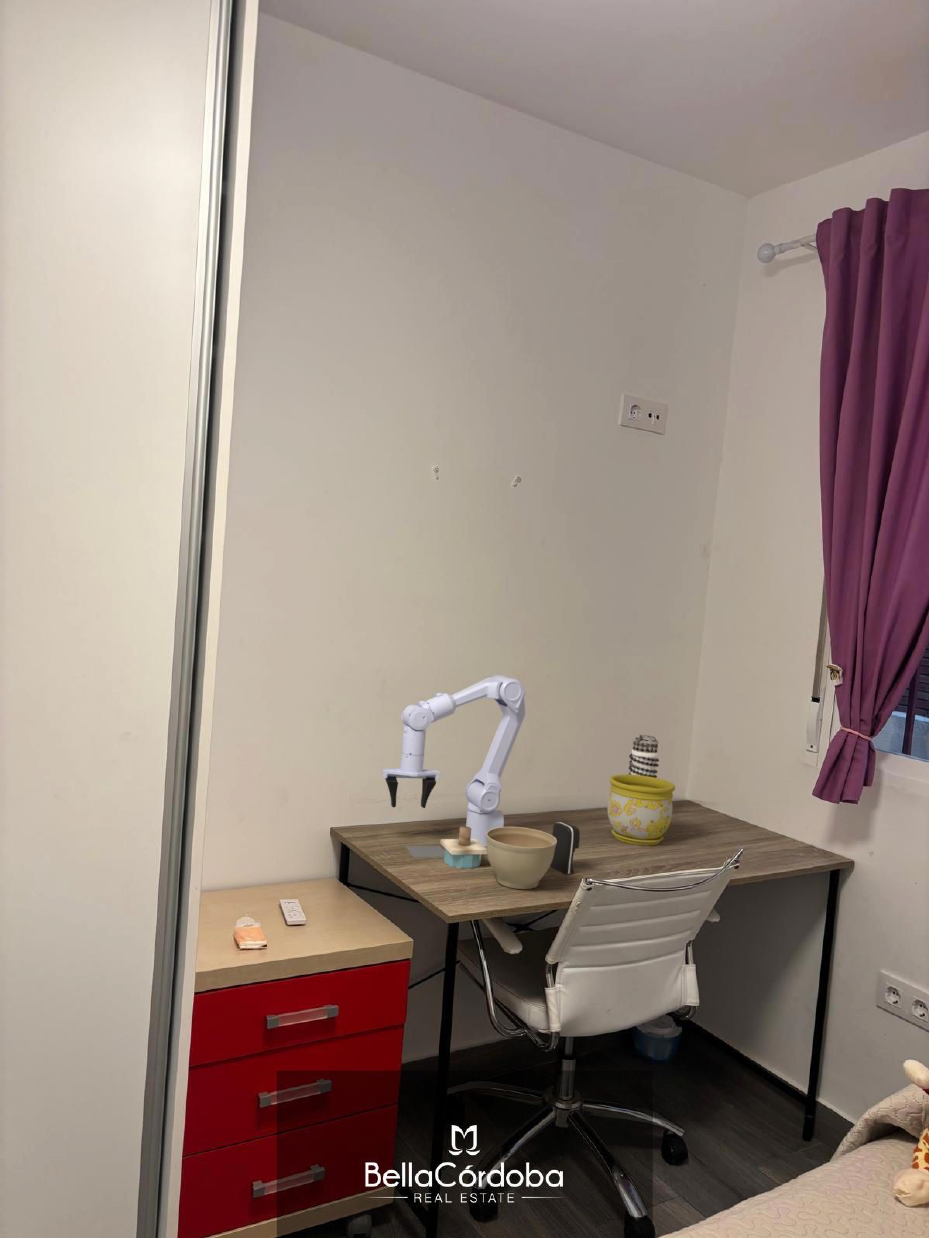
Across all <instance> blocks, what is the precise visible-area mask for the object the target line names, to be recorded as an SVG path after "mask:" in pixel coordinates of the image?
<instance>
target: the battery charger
mask: <svg viewBox="0 0 929 1238" xmlns="http://www.w3.org/2000/svg"><path fill="white" fill-rule="evenodd" d="M551 835H552V836H553V837H555V838H556V840H557V844H556V847H555V852H554V856H553V860H552V862H551V865H550V867H551V868H552V869H554V870H556V871H557V872H560V873H562V874H565V875H570V874H574V873H575V869H574V866H573V861H574V853H575V852H576V850H577V849H579V848H580V847H579V846H580V838H581V836H580V835H581V832H580V829H579V828H578V827H577V826H576V825H575V824H574V825H573V824H572V823H568V822H566V821H563V822H562V821H561V822H560V821H559V822H555V823H554V824H553V827H552V834H551ZM550 867H549V868H550Z"/></svg>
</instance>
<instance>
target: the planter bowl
mask: <svg viewBox="0 0 929 1238" xmlns="http://www.w3.org/2000/svg"><path fill="white" fill-rule="evenodd" d="M486 839H487V846H486V848H487V854H486V855H487V859H488V861H489V864H490V867H491V868H492V871H493V873H494V874H495V877H496V881H497V883H499V884H500V885H502V886H504V887H507V888H510V889H515V890H516V889H518V890H531V889H534V888H537V887H538V885H539V883H540V880H541V879H542V878H543V877H544V876H545V875H546V873H547V872H548V871H549V869H550V865H551V862H552V860H553V856H554V852H555V847H556V844H557V840H556V838H555V837H553V836H552V834H550V833H547V832H545V831H543V830H538V829H534V828H528V827H522V826H521V827H520V826H504V827H498V828H493V829H490V830H489V831H487V833H486Z"/></svg>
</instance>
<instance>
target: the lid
mask: <svg viewBox="0 0 929 1238" xmlns="http://www.w3.org/2000/svg"><path fill="white" fill-rule="evenodd" d="M439 842H440V846H441V847H442V846H443V848H444V849H445V848H446V849H447V850H448V851H449V852H450V853H451V854H452V855H461V854H481V855H487V847H486V846H483V845H482V844H481V843H480V842H478V841H477V840H476V839H471V828H470V827H466V825H465V826H459V834H458V838H453V839H452V838H451V839H450V838H448V839H447V838H445V839H444V838H442V839H440V841H439Z"/></svg>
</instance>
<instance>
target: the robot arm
mask: <svg viewBox="0 0 929 1238" xmlns="http://www.w3.org/2000/svg"><path fill="white" fill-rule="evenodd" d="M523 686H524V685H523V684H522V683H521V681H519V680H518V679H517V678H512V677H511V678H510V677H508V676H505V675H503V674H495V675H493V676H492V677H491V676H490V677H487V678H484V679H482V680H480V681H479V682H476V683H475V684H472V685H470V686H468V687H466V688H464V689H462V690H459V691H457V692H456V693H454V694H453V693H452V694H451V695H450V694H448V693H447V692H445V693H442V692H437V693H435V696H434V697H431V698H430V699H426V700H425V701H424V700H420V701H419V702H418V705H417V704H410V705H407V707H405V708H404V710H403V711H402V714H401V715H400V720H401V721H402V724H403V733H402V742H401V743H402V744H401V756H400V766H399V767H400V768H382V769H381V777H382V778H383V779H385V782H386V784H387V788H388V792H389V794H390V795H389V796H390V805H391V807H392V808H396V806H397V795H398V794H397V791H398V786H399V782H398V779H422V780H421V781H422V783H421V784H422V785H421V786H422V787H421V790H422V792H421V798H420V806H421V808H422V809H425V808H426V807H427V803H428V799H429V797H430V795H431V793H432V791H433V790H434V788H435V787H436V784H437V780H438V781H439V780H440V779H441V778H440V777H441V772H440V771H439V770H436V769H435V770H434V769H424V761H425V760H424V759H425V748H426V734H427V729H428V728H429V727H430V725H431V724H432V723H434V722H435V723H436V722H437V721H439V720H442V719H444V718H446V717H449V716H451V715H453V714H454V713H455V711H456V709H457V708H458V707H461V706H464V705H466V704H469V703H471V702H474V701H477V700H479V699H483V698H489V699H493V700H494V701H496V704H498V706H499V708H500V710H501V712H502V717H501V719H500V722H499V724H498V727H497V729H496V732H495V734H494V736H493V739H492V742H491V744H490V747H489V749H488V752H487V754H486V757H485V759H484V761H483V765H482V767H481V769H480V770H479V771H478V772H477V773H475V774H474V776H473V778H472V780H471V782H469V783H468V784H467V786H466V787H465V791H464V797H465V798H466V800H467V802H468V804H467V809H466V823H465V827H470V828H471V839H476V840H477V841H478V842H480V843H481V844H482V845H483V846H484V847H487V839H486V833H487V831H489V830H490V829H493V828H498V827H505V826H504V824H505V821H504V820H505V819H504V818H505V817H504V814H503V811H502V810H501V809H497V808H498V807H499V805H500V803H501V792H502V788H503V785H502V781H501V778H502V775H503V772H504V769H505V767H506V765H507V762H508V760H509V756H510V754H511V752H512V749H513V747H514V745H515V742H516V739H517V736H518V733H519V732H520V729H521V726H522V724H523V721H524V718H525V716H526V709H525V708H526V707H525V704H526V703H525V695H527V694H526V693H527V692H526V690H525V688H524V687H523ZM397 778H398V779H397Z"/></svg>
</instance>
